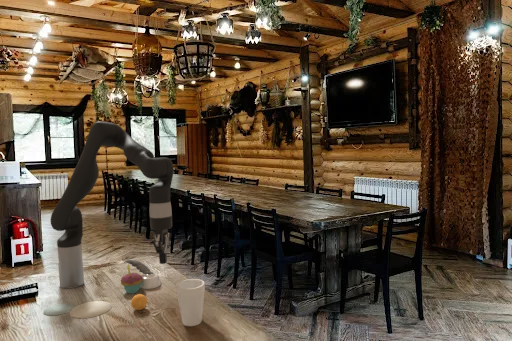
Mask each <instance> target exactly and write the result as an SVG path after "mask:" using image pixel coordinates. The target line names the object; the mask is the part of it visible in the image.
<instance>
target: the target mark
mask: <svg viewBox="0 0 512 341" xmlns="http://www.w3.org/2000/svg"><path fill="white" fill-rule="evenodd" d="M111 309H112V304H111V303H110V302H109V301H102V300H95V301H88V302H84V303H81V304H79V305H77V306H74V308H73V309H72V310H71V311H69V315H70V316H71V317H73V318H76V319H87V318H88V319H89V318H95V317H98V316H101V315H104V314H105V313H108V312H109V311H110V310H111Z"/></svg>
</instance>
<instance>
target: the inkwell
mask: <svg viewBox="0 0 512 341" xmlns="http://www.w3.org/2000/svg"><path fill="white" fill-rule="evenodd" d="M124 263H127V264H128V265H131V266H132V267H135V268H136V270H139V273H142V274H141V276H142V278H143V282H141V284H140V287H139V289H142V290H152V289H156V288H159V287H160V286H161V285H162V282H161V279H160V275H159V274H158V273H156V272H155V271H152V270H151V269H150V268H149V266H147V265H146V264H144V263H142V262H141V261H140V260H137V259H132V258H130V259H126V260H125V261H124Z"/></svg>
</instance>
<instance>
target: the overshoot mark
mask: <svg viewBox="0 0 512 341" xmlns="http://www.w3.org/2000/svg"><path fill="white" fill-rule="evenodd" d="M74 307H75V305H73V304H72V303H66V302H65V303H57V304H54V305H51V306H49V307H46V308H45V309H44V310H43V315H45V316H50V317H51V316H60V315H65V314H67V313H70V311H71V310H72V309H73V308H74Z"/></svg>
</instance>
